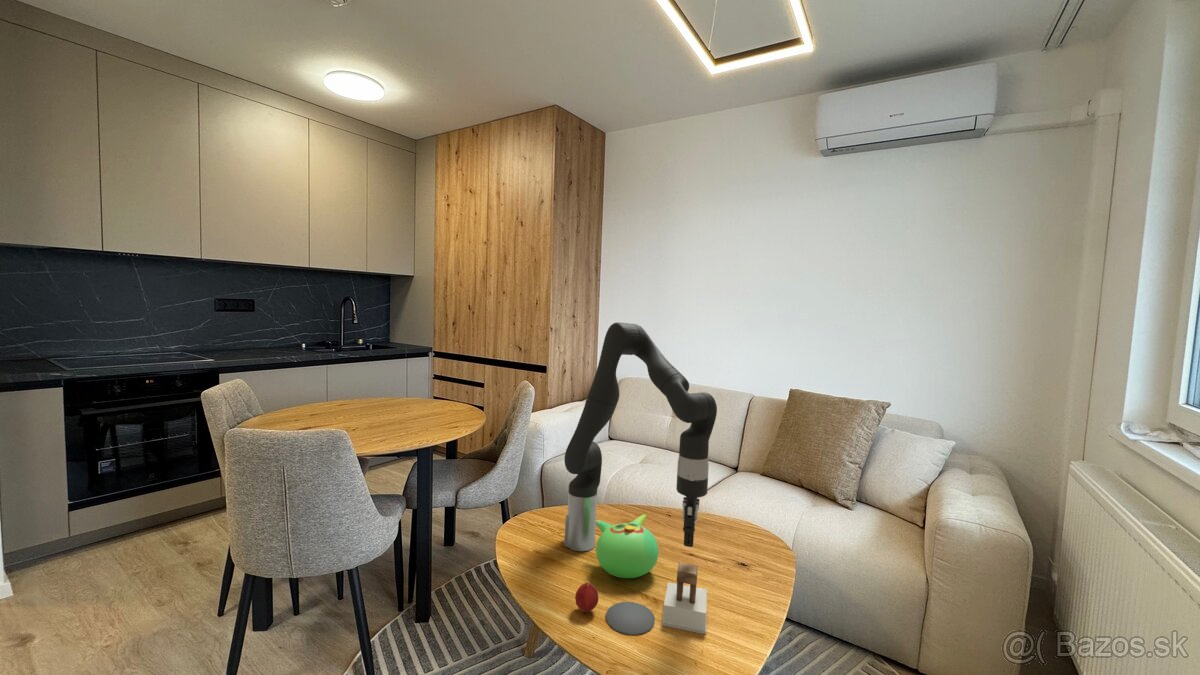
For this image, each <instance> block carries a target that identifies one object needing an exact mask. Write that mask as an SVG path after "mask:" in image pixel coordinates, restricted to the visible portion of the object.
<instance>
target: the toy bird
mask: <svg viewBox="0 0 1200 675" xmlns="http://www.w3.org/2000/svg"><path fill="white" fill-rule="evenodd" d="M646 518H647V514H645V513H644V514H641V515H640V516H638V517H636V518H635V519H633V520H632V521H630V522H629V523H627V522H626V523H625V522H624V523H617V524H613V525H612V524H610V523H607V522H605V521H603V520H599V519H598V520H597V519H596V521H595V523H596V527H597V528H598V529H599V530H600V531H601V532H602V533H600V536H599V537H598V539H597V542H596V547H595V548H596V550H595V552H596V558H597V561H598V563H599V565H600V566H601V567H602V569H603V570H604V571H605V572H607V573H608V574H610V575H612V576H614V577H617V578H621V579H634V578H639V577H642V576H644V575H646V574H648V573H649V572H651V570H653V569H654V567H655V566H656V564H657V561H658V559H659V553H660V552H659V544H658V542H657V538H656V537H655V536H654V534H653V533H652V532H651V531H650V530H649V529H647V528H645V527H644V526H643V524H644V522H645V520H646Z"/></svg>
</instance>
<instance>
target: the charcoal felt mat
mask: <svg viewBox="0 0 1200 675" xmlns="http://www.w3.org/2000/svg"><path fill="white" fill-rule="evenodd" d="M605 620H606V623H607V625H608V626H609V627H610V628H611V629H613V630H614V631H615V632H617V633H620V634H623V635H627V636H639V635H643V634H646V633H648V632H650V631H651V630H652V629H653V628H654V626H655V622H656V621H655V620H656V617H655V615H654V613H653V612H652V610H651V609H650V608H649V607H647V606H646V605H643V604H641V603H638V602H633V601H621V602H617V603H615V604H613V605H611V606H609V608H608V609H607V610H606V614H605Z"/></svg>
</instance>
